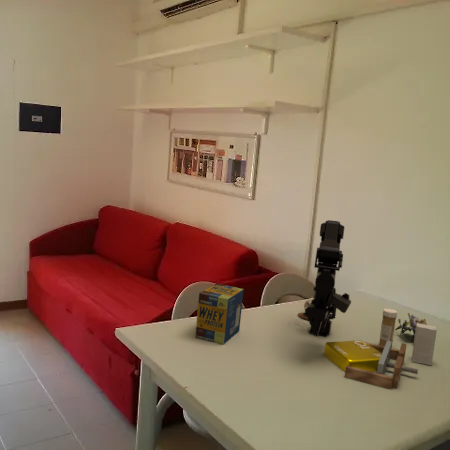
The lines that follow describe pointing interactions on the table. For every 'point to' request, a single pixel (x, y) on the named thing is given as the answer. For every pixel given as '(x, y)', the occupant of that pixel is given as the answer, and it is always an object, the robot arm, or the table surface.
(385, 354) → the pusher
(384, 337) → the sprinkles bottle
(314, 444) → the table surface
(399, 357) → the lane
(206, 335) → the protein box
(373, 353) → the element tile
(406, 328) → the passion flower
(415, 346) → the skincare box
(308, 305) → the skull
